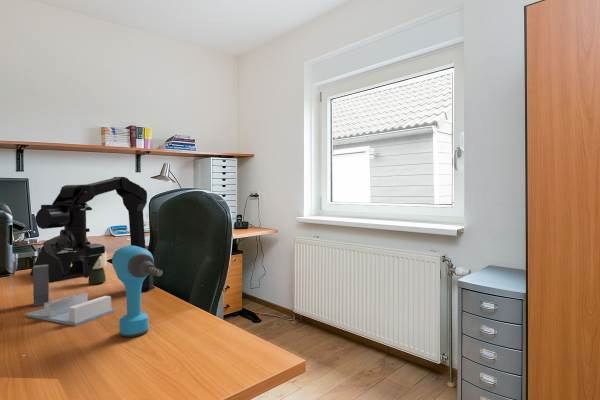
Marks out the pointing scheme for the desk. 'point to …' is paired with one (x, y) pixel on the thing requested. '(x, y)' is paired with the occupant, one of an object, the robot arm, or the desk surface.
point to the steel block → (41, 284)
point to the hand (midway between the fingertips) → (76, 276)
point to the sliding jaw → (64, 304)
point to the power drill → (133, 286)
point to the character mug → (98, 271)
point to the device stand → (55, 267)
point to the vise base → (64, 317)
